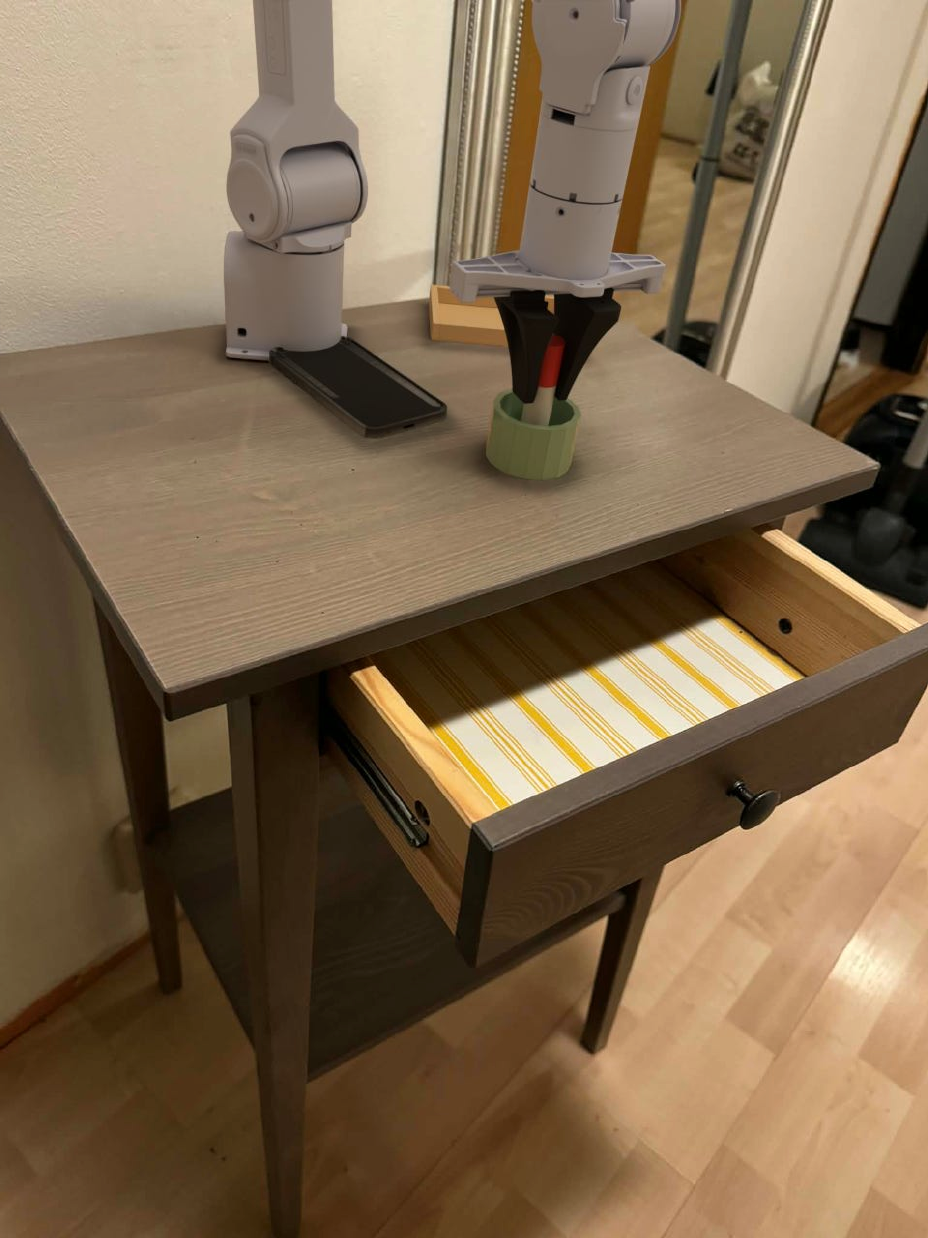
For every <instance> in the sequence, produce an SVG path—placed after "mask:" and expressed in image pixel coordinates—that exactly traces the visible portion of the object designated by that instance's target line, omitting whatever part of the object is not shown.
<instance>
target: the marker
mask: <svg viewBox="0 0 928 1238" xmlns="http://www.w3.org/2000/svg"><path fill="white" fill-rule="evenodd" d="M564 346H565V340H564V339H563V338H561V337H560V336H557V335H554V334H552V337H551V339H550V341H549V344H548V347H547V350H546V353H545V356H544V360H543V364H542V369H541V375H540V380H539V386H538V391H537V394H536V397H535V400H534V403H530V404H524V405H523V410H522V416H521V422H525V423H528V424H532V425H540V426H548V425H549V420H550V415H551V410H552V404H553V399H554V394H555V389H556V385H557V382H558V377H559V372H560V367H561V362H562V357H563V351H564Z"/></svg>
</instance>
